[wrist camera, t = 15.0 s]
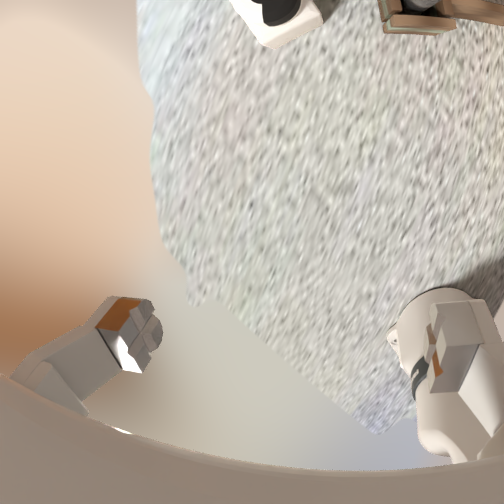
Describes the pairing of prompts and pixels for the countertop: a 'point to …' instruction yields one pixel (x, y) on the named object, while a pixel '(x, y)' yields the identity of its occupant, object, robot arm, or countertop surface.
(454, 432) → the robot arm
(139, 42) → the countertop surface
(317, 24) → the medicine bottle
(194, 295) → the countertop surface
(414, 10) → the hinge pin
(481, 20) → the stand
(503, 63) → the countertop surface
